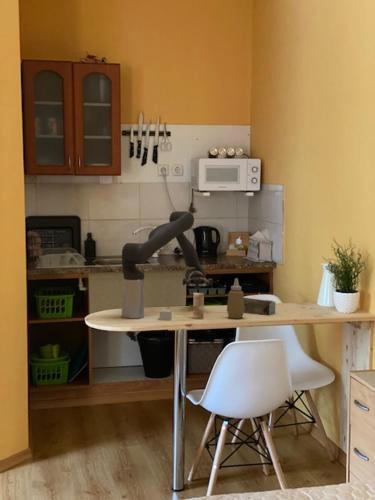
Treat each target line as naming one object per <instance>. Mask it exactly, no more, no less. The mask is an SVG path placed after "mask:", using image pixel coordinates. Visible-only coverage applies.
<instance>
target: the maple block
mask: <svg viewBox="0 0 375 500" xmlns="http://www.w3.org/2000/svg"><path fill="white" fill-rule="evenodd" d="M192 300H193V305H192V310H193V311H192V316H193V320H204V315H205V314H204V312H205V309H204V307H205V304H204V302H205V294H204V292H193V299H192Z"/></svg>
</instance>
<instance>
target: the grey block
mask: <svg viewBox="0 0 375 500" xmlns="http://www.w3.org/2000/svg"><path fill="white" fill-rule="evenodd" d="M172 316H173V310H172V309H160V310H159V321H172Z"/></svg>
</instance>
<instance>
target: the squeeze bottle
mask: <svg viewBox="0 0 375 500" xmlns="http://www.w3.org/2000/svg"><path fill="white" fill-rule="evenodd" d="M244 298H245V297H244V291H242V286H240V284H239V279H238V277H237V278H234V282H233V285H231V286H230V291H228V297H227V305H226V312H227V315H228V318H230V319H233V320H234V319H237V320H239V319H242V318H243V315H244V310H245V309H244Z"/></svg>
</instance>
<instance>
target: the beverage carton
mask: <svg viewBox="0 0 375 500" xmlns="http://www.w3.org/2000/svg"><path fill="white" fill-rule="evenodd" d="M276 305H277V304H276V301H275V300H268V299H266V300H264V299H257V298H256V299H255V298H249V297H244V309H245V310H244V313H245V314H252V315H253V314H254V315H259V316H260V315H263V316H271V315H273V314H274V315H275V313H276ZM244 313H243V314H244Z"/></svg>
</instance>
